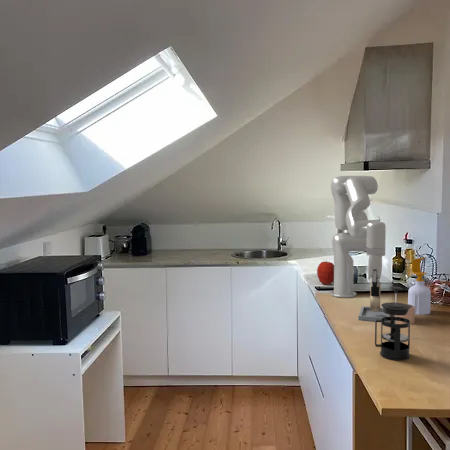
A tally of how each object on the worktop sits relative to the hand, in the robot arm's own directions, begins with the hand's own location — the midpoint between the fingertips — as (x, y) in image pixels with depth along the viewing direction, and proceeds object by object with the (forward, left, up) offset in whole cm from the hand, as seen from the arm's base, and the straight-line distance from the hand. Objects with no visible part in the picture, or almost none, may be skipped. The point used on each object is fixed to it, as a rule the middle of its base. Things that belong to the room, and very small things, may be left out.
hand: (375, 294), depth 203 cm
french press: (+43, +8, -10) cm, 45 cm away
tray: (0, 0, -10) cm, 10 cm away
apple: (-60, -30, -10) cm, 68 cm away
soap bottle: (-13, +17, -10) cm, 24 cm away
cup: (+4, +12, -10) cm, 16 cm away
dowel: (0, 0, -7) cm, 7 cm away
